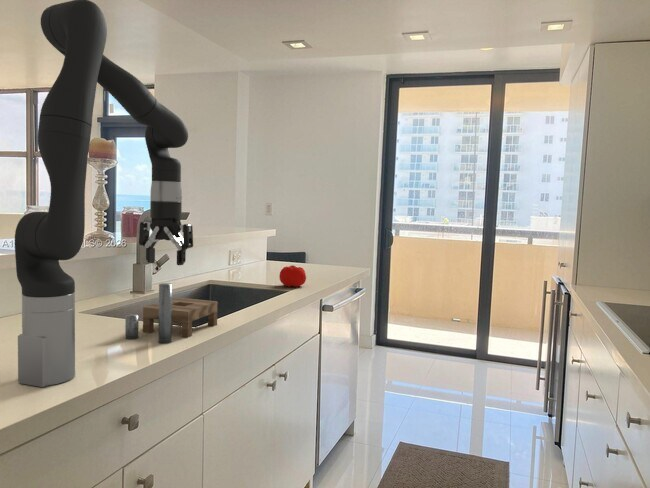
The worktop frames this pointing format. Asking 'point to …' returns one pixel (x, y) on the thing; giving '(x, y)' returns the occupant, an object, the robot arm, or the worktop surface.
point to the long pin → (165, 313)
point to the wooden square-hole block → (182, 314)
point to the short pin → (131, 326)
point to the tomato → (292, 276)
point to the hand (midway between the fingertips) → (165, 263)
